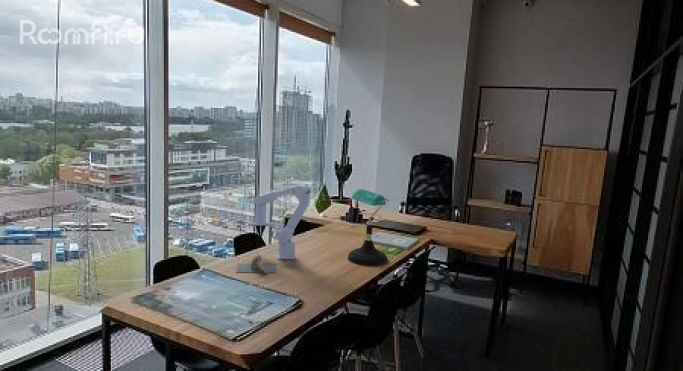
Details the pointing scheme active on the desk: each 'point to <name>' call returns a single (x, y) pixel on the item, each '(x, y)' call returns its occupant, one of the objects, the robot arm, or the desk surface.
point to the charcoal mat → (248, 269)
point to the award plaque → (393, 240)
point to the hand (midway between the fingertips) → (260, 238)
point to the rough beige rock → (259, 264)
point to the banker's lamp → (368, 233)
